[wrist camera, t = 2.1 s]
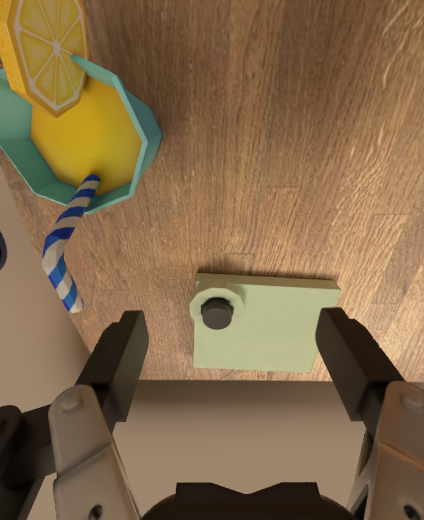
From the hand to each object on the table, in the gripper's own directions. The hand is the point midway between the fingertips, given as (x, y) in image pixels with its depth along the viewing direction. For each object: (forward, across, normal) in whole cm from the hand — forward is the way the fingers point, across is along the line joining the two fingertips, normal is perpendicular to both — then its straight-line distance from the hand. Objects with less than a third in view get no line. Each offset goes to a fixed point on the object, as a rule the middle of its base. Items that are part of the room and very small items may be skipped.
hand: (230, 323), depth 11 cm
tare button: (+13, +1, +10) cm, 16 cm away
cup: (+16, +8, -7) cm, 19 cm away
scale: (+16, -4, +15) cm, 22 cm away
